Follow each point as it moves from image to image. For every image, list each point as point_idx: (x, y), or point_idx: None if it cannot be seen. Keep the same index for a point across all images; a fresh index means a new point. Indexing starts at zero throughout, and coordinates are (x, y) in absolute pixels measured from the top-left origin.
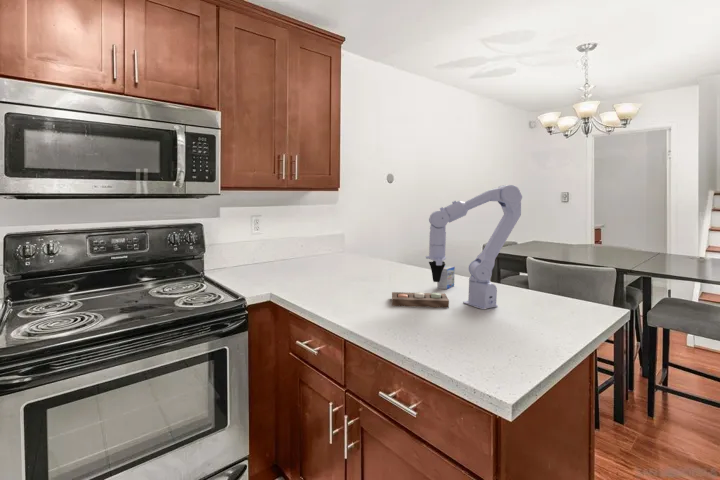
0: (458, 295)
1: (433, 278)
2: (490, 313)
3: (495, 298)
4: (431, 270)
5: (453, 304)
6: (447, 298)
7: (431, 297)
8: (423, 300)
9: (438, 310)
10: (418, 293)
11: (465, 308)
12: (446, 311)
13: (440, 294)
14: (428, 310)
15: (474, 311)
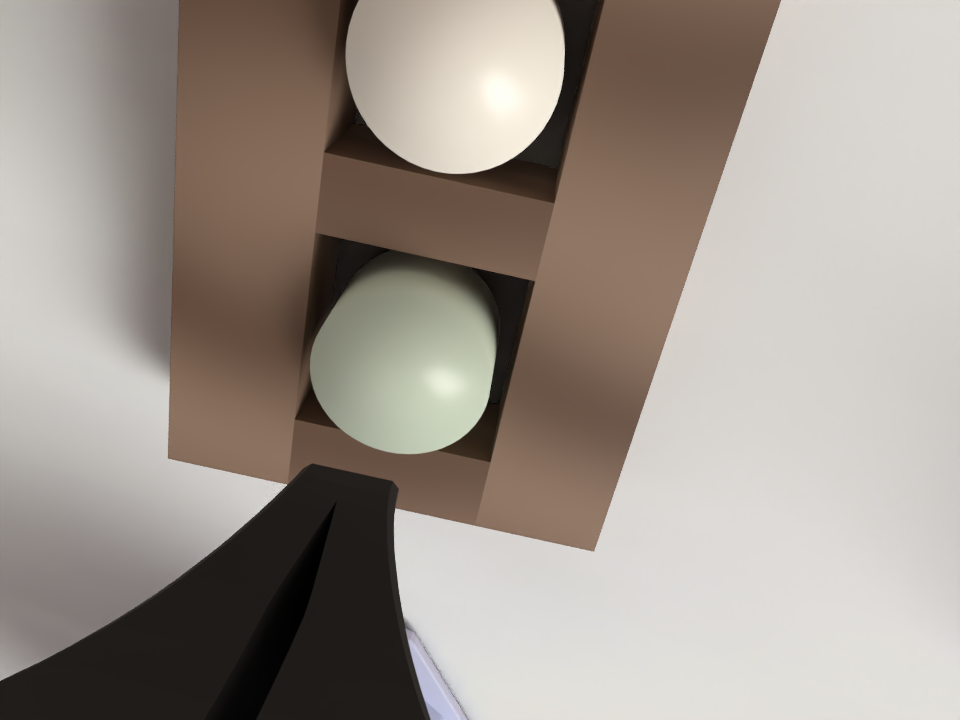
0: (787, 709)
1: (269, 508)
2: None
3: None
4: (388, 661)
5: None
6: None
7: (388, 271)
8: (181, 59)
9: (64, 226)
10: (467, 46)
11: None
12: (33, 316)
13: (365, 437)
14: (42, 72)
15: (82, 605)
